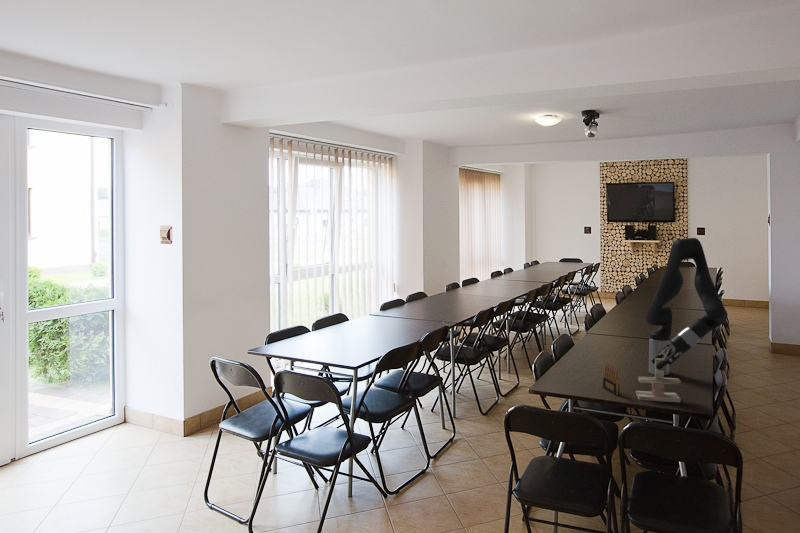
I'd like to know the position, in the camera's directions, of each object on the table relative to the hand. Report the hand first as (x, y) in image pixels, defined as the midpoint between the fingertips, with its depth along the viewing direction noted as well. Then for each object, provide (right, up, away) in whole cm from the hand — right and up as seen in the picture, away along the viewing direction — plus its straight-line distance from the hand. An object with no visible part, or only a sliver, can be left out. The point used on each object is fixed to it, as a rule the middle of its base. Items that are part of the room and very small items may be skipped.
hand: (655, 365), depth 233 cm
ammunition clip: (-15, -14, +11) cm, 23 cm away
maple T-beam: (+2, -7, 0) cm, 7 cm away
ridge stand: (+1, -14, +1) cm, 14 cm away
